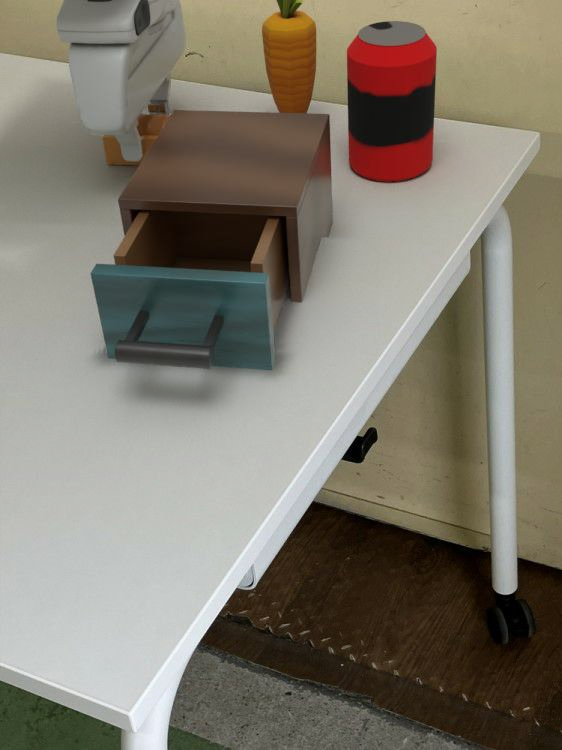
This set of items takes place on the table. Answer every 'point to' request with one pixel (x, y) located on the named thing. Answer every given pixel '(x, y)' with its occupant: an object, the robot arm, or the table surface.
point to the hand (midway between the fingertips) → (148, 137)
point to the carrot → (290, 56)
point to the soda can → (391, 101)
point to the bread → (146, 128)
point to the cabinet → (242, 175)
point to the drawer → (195, 290)
